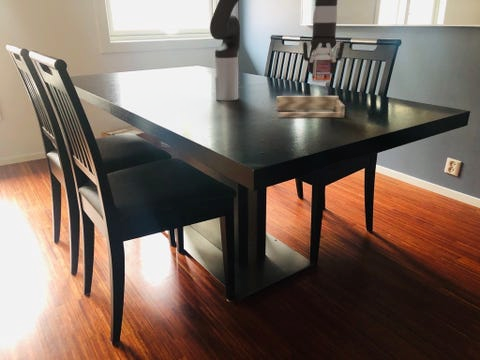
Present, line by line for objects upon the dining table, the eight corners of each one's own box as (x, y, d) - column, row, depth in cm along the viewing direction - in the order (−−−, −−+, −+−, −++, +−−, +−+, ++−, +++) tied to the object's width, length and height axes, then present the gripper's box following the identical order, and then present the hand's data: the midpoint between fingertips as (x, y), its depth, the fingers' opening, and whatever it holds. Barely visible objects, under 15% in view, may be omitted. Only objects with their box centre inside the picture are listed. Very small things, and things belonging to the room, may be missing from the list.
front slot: (311, 116, 136) (311, 115, 136) (307, 110, 145) (308, 109, 144) (336, 116, 136) (336, 115, 136) (331, 110, 144) (331, 109, 144)
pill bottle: (333, 81, 135) (336, 47, 131) (320, 83, 132) (322, 48, 128) (320, 79, 140) (323, 46, 136) (308, 81, 137) (309, 47, 132)
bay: (277, 117, 135) (278, 103, 133) (276, 109, 147) (276, 96, 145) (343, 117, 134) (345, 103, 132) (336, 109, 146) (338, 95, 144)
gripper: (304, 21, 125) (301, 75, 132) (349, 21, 125) (344, 74, 131) (301, 21, 132) (299, 72, 139) (344, 21, 132) (340, 72, 138)
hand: (321, 73), depth 135 cm, fingers closed on pill bottle, 6 cm apart
